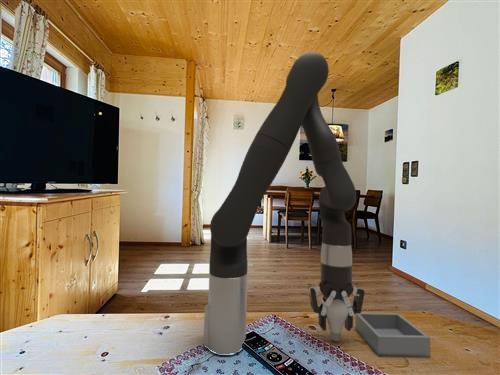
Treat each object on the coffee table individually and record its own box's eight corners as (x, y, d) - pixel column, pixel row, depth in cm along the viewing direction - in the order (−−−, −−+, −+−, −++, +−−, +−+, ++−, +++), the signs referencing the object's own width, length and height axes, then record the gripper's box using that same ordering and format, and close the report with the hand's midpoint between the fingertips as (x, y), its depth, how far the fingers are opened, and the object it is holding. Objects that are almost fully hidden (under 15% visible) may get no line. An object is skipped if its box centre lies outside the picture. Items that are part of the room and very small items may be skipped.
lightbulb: (344, 335, 66) (344, 292, 66) (351, 349, 60) (351, 302, 60) (320, 333, 66) (321, 291, 67) (325, 347, 60) (325, 300, 61)
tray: (378, 356, 57) (378, 336, 57) (355, 328, 69) (355, 312, 69) (430, 357, 57) (430, 337, 58) (398, 329, 69) (398, 313, 70)
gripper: (312, 264, 60) (311, 337, 59) (371, 266, 60) (371, 337, 59) (304, 257, 67) (303, 321, 67) (357, 258, 68) (357, 322, 67)
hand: (335, 328), depth 63 cm, fingers closed on lightbulb, 5 cm apart
